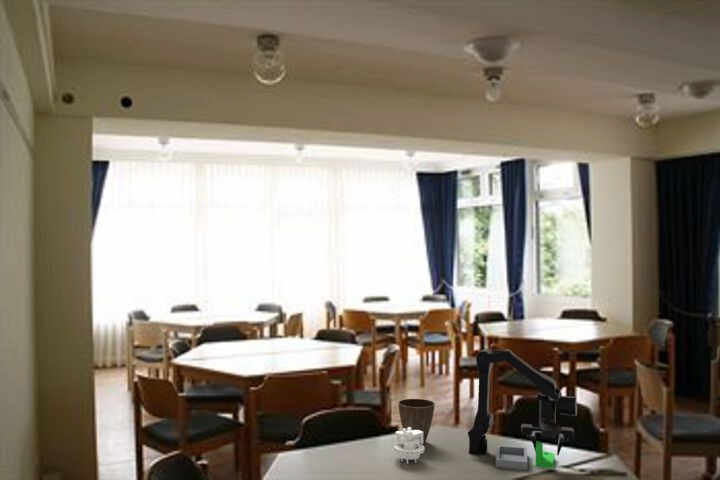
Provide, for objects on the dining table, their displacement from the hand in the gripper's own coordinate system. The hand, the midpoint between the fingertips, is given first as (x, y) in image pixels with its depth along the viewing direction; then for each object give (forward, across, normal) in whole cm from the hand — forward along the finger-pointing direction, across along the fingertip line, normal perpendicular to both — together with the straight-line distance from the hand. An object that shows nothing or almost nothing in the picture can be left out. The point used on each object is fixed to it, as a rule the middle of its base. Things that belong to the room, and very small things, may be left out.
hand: (547, 454), depth 237 cm
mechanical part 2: (+3, 0, 0) cm, 3 cm away
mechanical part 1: (+3, -50, -12) cm, 51 cm away
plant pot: (+3, -51, +11) cm, 52 cm away
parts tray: (+3, -13, -3) cm, 13 cm away
